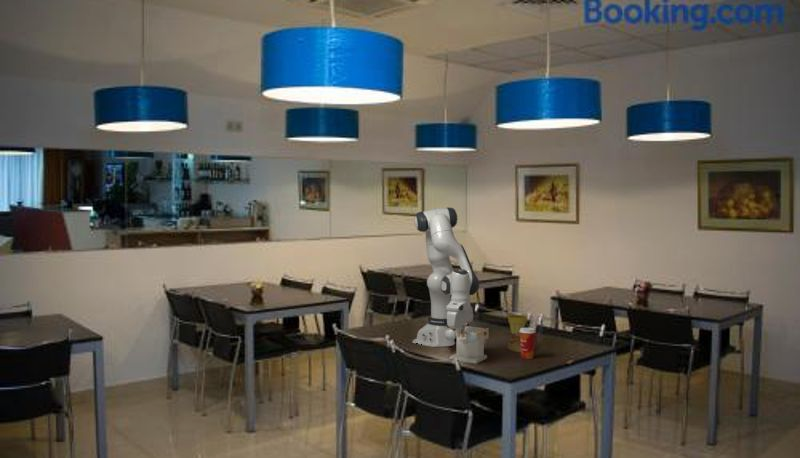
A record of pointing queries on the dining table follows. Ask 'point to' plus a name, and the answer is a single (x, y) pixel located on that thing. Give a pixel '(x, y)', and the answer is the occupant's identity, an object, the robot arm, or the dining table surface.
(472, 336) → the glasses
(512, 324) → the plant pot
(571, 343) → the dining table surface
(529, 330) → the paper cup
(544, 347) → the dining table surface
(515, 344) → the pastry
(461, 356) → the white upright box
